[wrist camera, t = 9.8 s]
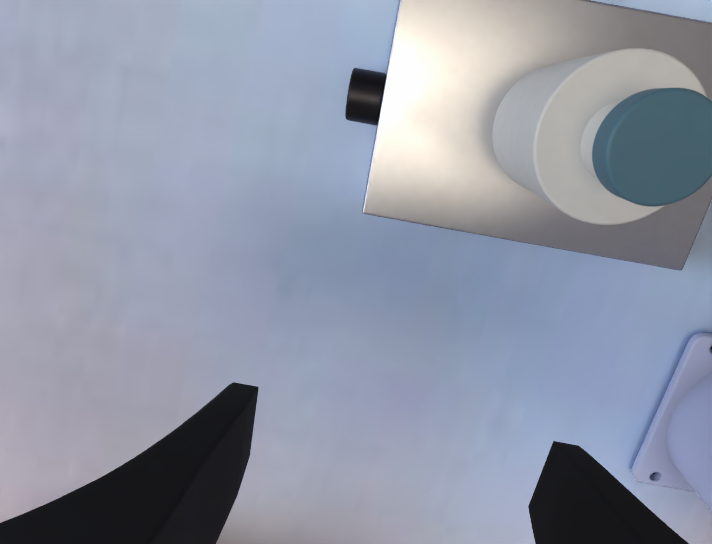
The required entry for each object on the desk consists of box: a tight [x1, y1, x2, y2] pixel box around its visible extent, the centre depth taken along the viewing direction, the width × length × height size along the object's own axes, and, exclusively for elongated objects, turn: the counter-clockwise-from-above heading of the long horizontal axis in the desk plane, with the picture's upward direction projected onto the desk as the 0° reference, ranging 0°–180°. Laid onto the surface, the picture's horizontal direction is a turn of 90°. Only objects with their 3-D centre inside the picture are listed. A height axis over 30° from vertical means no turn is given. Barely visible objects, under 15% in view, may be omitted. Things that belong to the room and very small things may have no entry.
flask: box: [345, 0, 712, 270], centre depth 18 cm, size 13×8×2 cm, turn 80°
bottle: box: [492, 48, 712, 225], centre depth 13 cm, size 4×4×7 cm
